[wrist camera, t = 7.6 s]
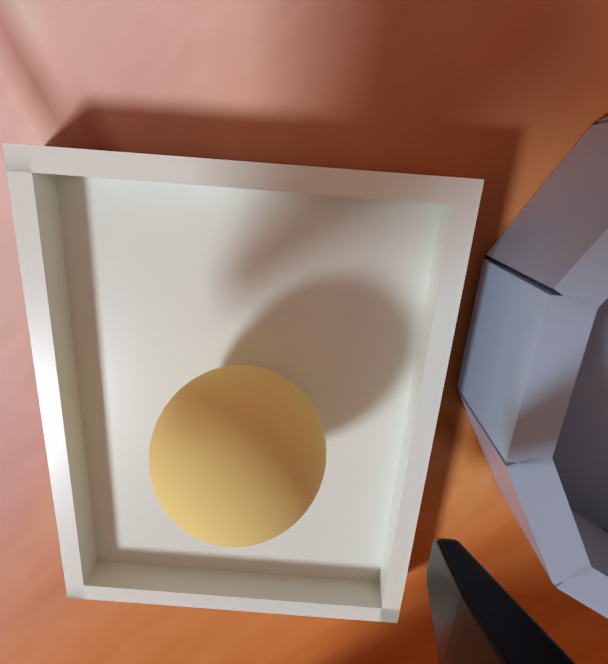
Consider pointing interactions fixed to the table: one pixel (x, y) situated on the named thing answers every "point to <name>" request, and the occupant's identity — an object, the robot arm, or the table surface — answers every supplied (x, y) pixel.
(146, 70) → the table surface
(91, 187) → the tray
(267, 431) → the ball
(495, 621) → the robot arm
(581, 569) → the bowl
